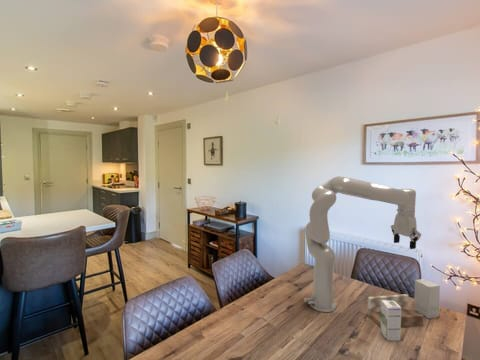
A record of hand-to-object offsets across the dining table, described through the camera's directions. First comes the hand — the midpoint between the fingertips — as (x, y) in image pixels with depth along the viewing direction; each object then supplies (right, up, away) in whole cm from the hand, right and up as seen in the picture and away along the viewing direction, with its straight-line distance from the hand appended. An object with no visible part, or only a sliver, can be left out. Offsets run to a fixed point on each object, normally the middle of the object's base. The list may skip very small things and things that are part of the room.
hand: (404, 245), depth 136 cm
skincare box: (+5, -31, -8) cm, 33 cm away
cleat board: (-13, -31, -14) cm, 37 cm away
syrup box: (-22, -33, -25) cm, 46 cm away
